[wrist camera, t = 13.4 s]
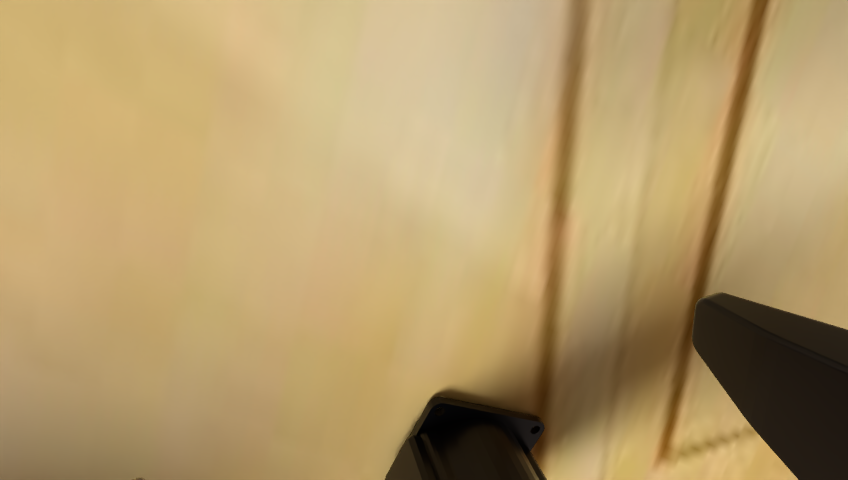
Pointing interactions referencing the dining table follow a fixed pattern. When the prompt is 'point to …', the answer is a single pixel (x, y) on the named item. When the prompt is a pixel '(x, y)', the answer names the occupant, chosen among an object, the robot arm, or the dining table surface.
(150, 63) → the dining table surface
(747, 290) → the dining table surface
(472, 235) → the dining table surface
